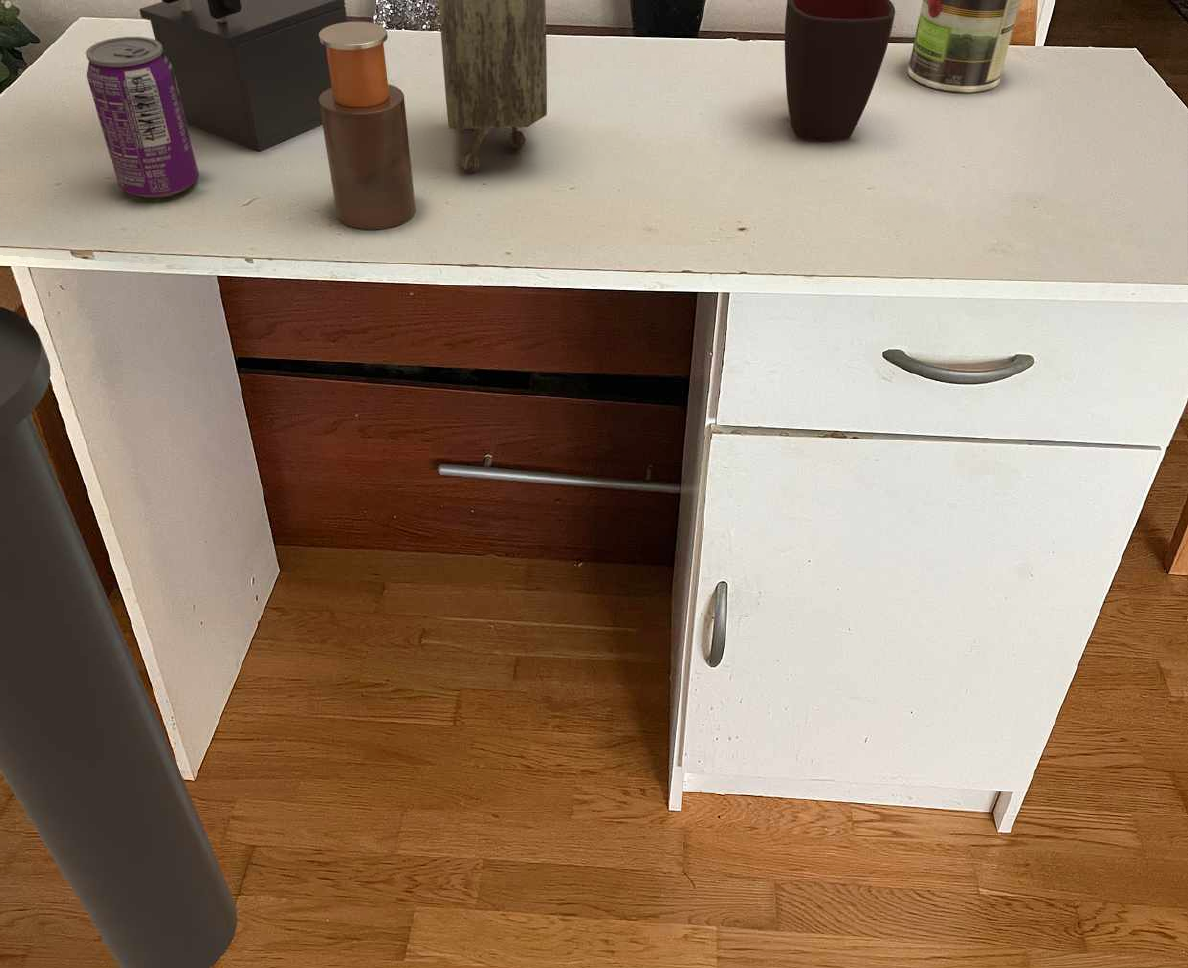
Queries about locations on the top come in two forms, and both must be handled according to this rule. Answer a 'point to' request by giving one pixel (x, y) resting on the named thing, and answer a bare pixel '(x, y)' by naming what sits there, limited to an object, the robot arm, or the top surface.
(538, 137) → the top surface
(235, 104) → the open storage bin
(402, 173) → the stand
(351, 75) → the cylinder
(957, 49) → the coffee can
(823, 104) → the cup
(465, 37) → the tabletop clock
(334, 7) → the lid
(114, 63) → the beverage can
